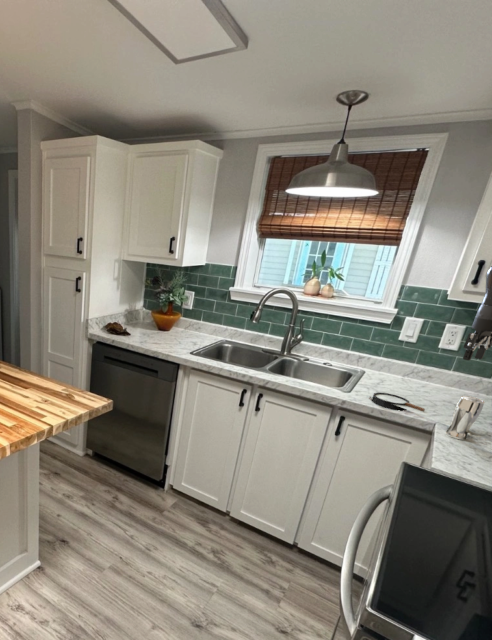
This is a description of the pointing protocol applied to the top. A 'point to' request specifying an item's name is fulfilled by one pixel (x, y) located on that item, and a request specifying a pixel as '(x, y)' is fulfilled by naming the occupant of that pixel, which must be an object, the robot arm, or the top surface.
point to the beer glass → (464, 416)
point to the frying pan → (391, 405)
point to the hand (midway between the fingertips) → (472, 359)
